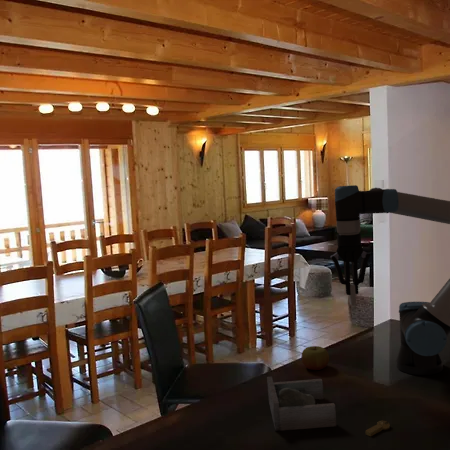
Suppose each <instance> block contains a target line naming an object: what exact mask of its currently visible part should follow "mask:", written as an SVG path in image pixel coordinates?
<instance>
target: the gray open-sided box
mask: <svg viewBox="0 0 450 450" xmlns="http://www.w3.org/2000/svg"><path fill="white" fill-rule="evenodd" d="M266 380H267V395H268V403H269V408H270V413H271V416H272V417H271V418H272V421H273V426H274V431H275V432H278V431H280V432H281V431H292V430H304V429H306V430H307V429H317V428H330V427H337V415H336V404H335V403H334V402H332V403H317V404H316V403H315V405H304V406H291V407H279V392H280V391H281V389H283V388H291V389H295V390H298V391H299V392H301V393H303V394H311V395H312V396H313V397H314V400H315V399H319V400H324V399H325V398H324V383H323V379H322V378H315V379H314V378H313V379H303V380H290V381H287V380H286V381H277V382H274V380H273V376H267V377H266ZM315 401H316V400H315Z"/></svg>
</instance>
